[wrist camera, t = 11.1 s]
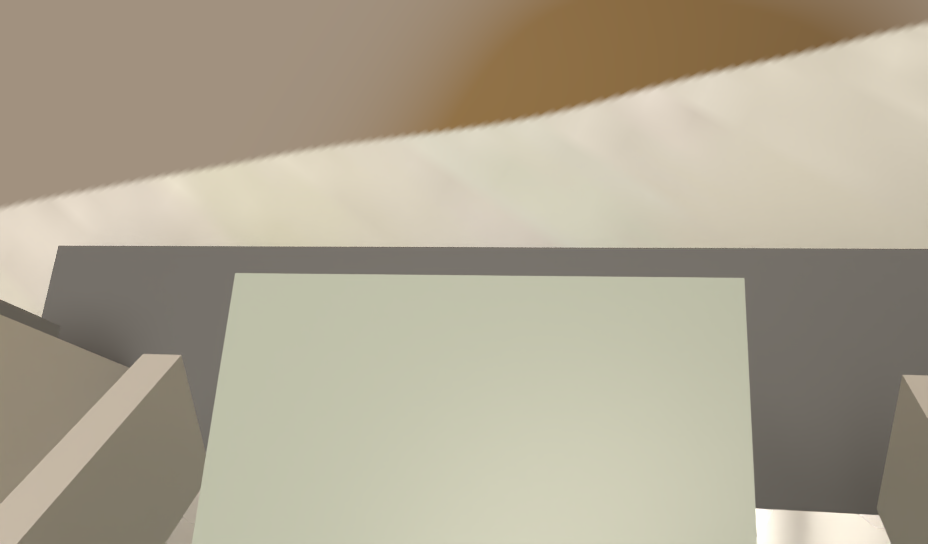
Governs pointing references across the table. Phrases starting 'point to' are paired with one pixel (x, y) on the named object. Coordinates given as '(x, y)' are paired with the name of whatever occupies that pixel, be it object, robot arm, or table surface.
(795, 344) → the rail plate
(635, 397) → the block
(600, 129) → the table surface
